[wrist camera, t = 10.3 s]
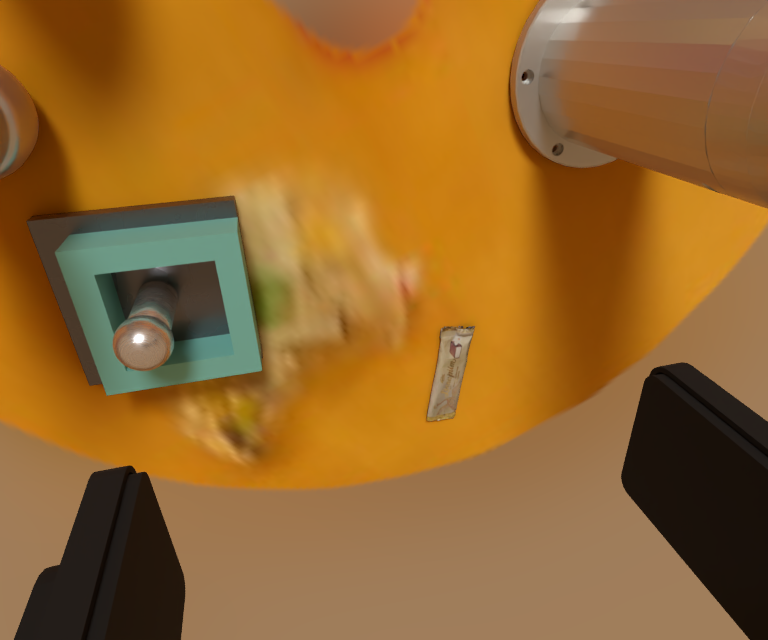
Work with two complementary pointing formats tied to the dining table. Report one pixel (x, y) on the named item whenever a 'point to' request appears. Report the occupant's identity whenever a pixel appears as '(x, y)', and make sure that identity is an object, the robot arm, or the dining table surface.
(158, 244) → the teal square frame
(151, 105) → the dining table surface
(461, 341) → the snack bar
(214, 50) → the dining table surface
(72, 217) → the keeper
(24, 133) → the plastic bottle
